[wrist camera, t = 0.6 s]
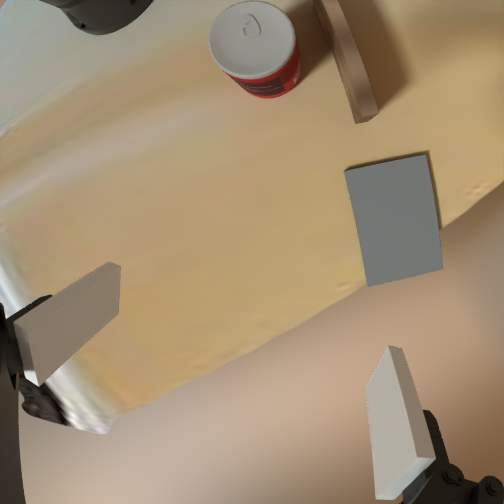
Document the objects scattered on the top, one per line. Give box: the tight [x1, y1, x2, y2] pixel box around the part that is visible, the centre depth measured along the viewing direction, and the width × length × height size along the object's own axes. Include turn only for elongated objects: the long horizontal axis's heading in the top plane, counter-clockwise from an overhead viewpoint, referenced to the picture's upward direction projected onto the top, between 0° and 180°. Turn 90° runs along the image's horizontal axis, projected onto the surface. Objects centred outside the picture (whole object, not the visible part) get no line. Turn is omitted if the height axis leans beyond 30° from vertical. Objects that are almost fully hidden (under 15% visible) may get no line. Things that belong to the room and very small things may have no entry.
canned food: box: [208, 1, 301, 98], centre depth 28 cm, size 8×8×11 cm
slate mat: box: [344, 155, 443, 287], centre depth 35 cm, size 14×10×1 cm
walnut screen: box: [313, 0, 379, 124], centre depth 28 cm, size 16×2×7 cm, turn 16°
